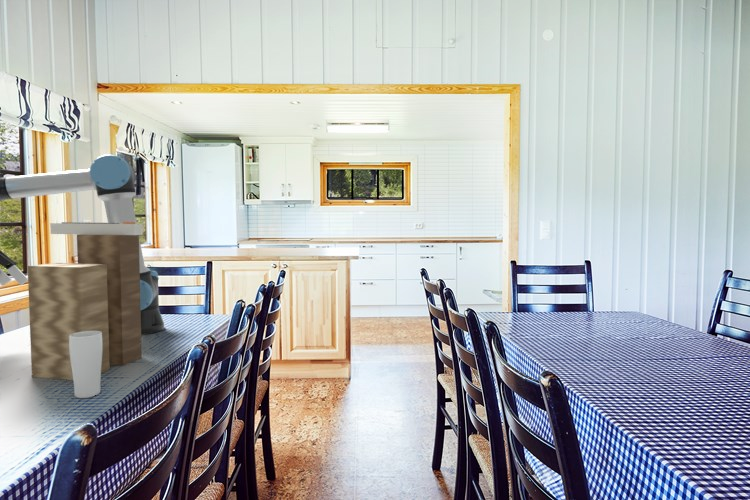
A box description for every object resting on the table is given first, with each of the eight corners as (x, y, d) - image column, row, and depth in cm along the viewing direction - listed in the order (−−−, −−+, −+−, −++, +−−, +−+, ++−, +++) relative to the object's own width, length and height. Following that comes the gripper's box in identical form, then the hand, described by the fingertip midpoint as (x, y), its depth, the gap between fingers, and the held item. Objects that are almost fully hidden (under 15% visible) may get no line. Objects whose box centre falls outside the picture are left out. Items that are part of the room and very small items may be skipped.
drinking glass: (80, 390, 112) (79, 330, 111) (109, 389, 112) (107, 330, 111) (64, 400, 105) (62, 337, 104) (94, 400, 106) (92, 337, 105)
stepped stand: (31, 376, 121) (26, 235, 119) (93, 354, 142) (89, 233, 139) (87, 381, 118) (82, 236, 116) (141, 357, 139) (138, 234, 136)
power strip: (50, 233, 135) (50, 221, 135) (61, 233, 138) (60, 221, 138) (134, 235, 130) (133, 222, 130) (142, 234, 134) (142, 222, 133)
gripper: (-25, 241, 152) (21, 289, 155) (-70, 234, 128) (-14, 291, 131) (-4, 227, 154) (41, 275, 157) (-44, 218, 130) (10, 274, 134)
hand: (16, 282), depth 144 cm, fingers open, 13 cm apart
